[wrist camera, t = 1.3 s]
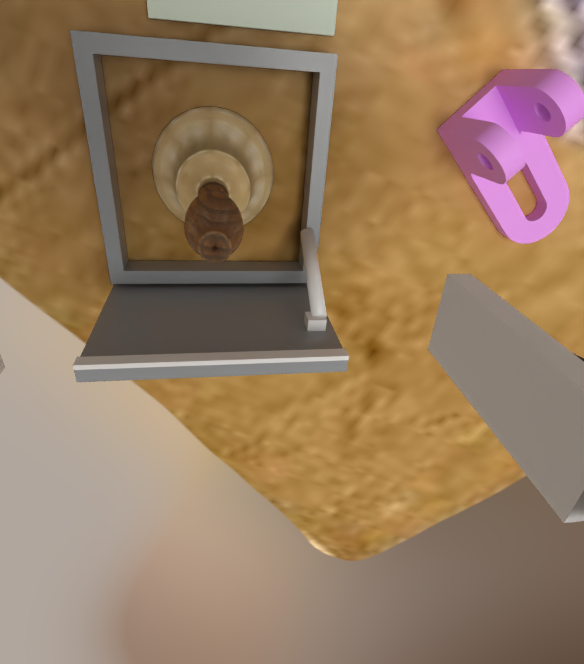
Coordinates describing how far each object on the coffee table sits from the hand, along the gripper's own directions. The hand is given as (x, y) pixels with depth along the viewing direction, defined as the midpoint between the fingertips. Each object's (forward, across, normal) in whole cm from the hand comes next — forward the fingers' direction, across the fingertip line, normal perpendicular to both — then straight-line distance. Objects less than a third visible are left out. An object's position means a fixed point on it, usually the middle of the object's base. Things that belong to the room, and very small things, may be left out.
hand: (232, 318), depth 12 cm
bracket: (+21, +22, +1) cm, 30 cm away
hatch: (+21, 0, 0) cm, 21 cm away
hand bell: (+21, 0, 0) cm, 21 cm away
